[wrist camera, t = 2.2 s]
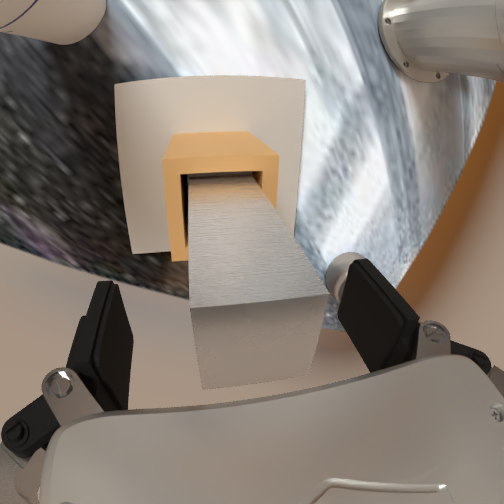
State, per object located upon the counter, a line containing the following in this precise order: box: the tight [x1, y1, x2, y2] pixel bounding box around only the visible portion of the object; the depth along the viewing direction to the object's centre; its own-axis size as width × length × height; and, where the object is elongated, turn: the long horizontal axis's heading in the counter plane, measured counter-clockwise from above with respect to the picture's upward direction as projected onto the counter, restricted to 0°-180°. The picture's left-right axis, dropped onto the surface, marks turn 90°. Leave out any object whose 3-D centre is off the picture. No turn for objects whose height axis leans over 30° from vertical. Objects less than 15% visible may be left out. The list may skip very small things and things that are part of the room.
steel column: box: [187, 171, 330, 389], centre depth 18 cm, size 4×4×22 cm
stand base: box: [114, 76, 306, 261], centre depth 24 cm, size 18×18×13 cm
